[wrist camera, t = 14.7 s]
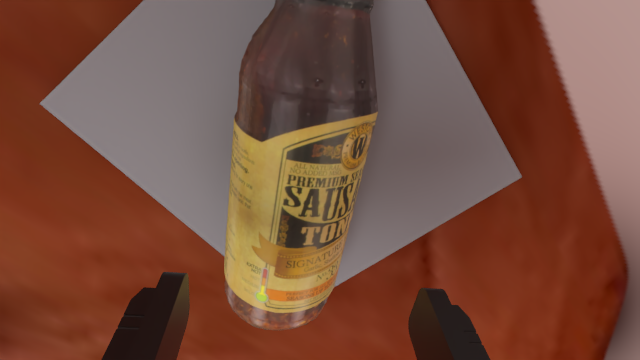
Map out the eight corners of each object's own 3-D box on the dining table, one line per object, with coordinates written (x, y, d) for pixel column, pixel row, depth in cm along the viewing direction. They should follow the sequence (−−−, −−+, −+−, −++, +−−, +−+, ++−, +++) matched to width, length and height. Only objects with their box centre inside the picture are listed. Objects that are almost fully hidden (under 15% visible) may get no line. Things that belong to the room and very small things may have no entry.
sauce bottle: (274, 361, 18) (351, -190, 8) (200, 287, 21) (194, -172, 12) (354, 294, 23) (466, -114, 13) (283, 241, 26) (329, -117, 16)
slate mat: (291, 303, 28) (291, 311, 27) (48, 98, 20) (39, 103, 19) (515, 170, 23) (522, 177, 23) (324, -175, 15) (326, -182, 14)
